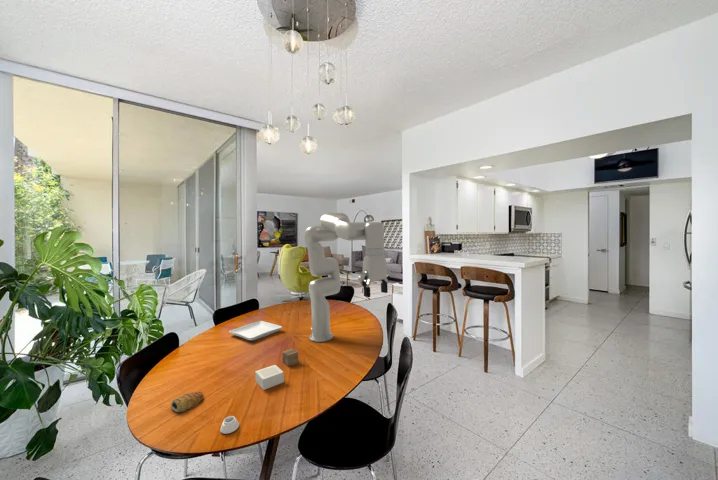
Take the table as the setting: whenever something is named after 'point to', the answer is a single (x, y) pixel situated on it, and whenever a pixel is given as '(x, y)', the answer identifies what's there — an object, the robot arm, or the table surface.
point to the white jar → (229, 425)
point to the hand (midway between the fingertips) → (375, 294)
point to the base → (269, 377)
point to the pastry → (186, 401)
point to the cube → (290, 357)
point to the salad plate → (255, 330)
